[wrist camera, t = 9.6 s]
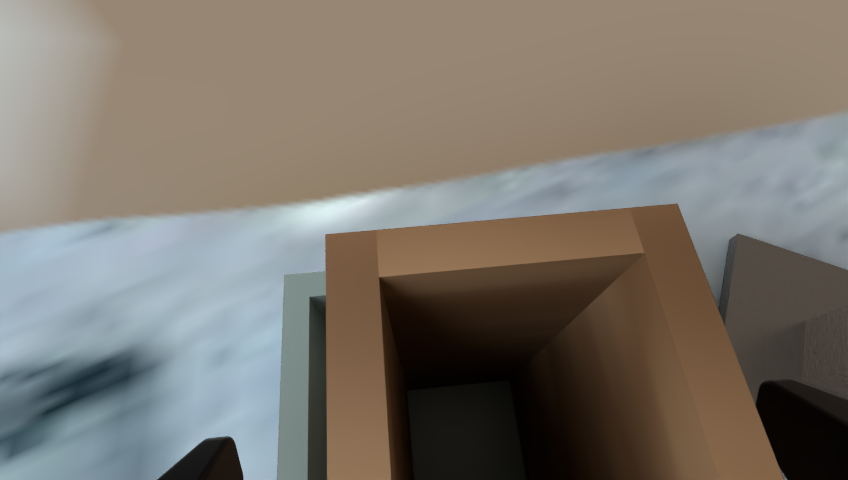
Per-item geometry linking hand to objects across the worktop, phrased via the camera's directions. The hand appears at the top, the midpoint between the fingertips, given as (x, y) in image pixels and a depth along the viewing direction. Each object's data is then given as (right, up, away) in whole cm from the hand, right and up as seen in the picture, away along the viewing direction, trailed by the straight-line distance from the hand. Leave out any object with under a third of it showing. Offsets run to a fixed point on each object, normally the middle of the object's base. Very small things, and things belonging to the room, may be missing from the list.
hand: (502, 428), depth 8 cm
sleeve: (0, -3, +8) cm, 8 cm away
